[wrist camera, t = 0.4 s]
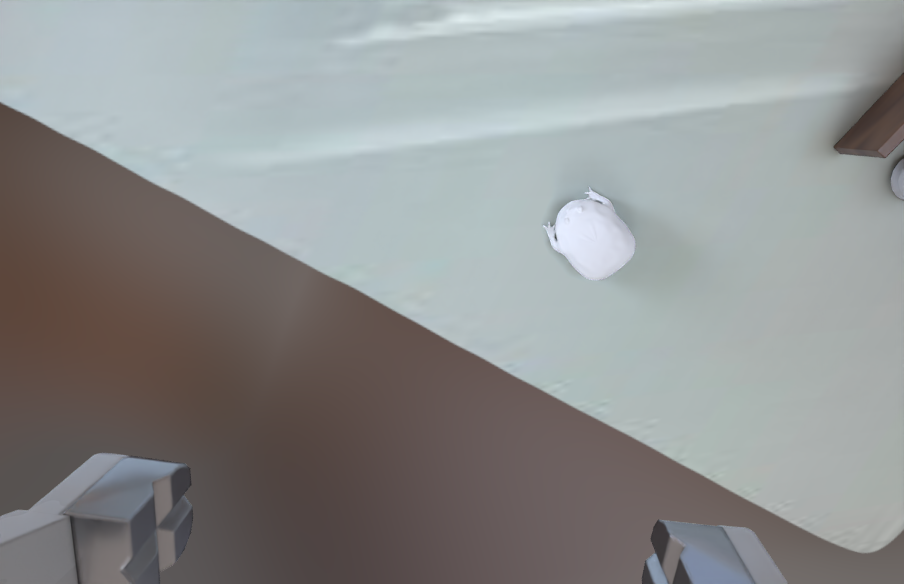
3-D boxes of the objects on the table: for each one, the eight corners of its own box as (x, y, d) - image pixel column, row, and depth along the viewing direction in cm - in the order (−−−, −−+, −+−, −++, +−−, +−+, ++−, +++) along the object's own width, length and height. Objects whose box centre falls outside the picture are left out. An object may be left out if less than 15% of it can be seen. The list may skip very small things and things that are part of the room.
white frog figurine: (534, 225, 54) (538, 233, 51) (591, 178, 53) (598, 182, 49) (586, 286, 56) (593, 297, 52) (643, 241, 54) (654, 250, 50)
